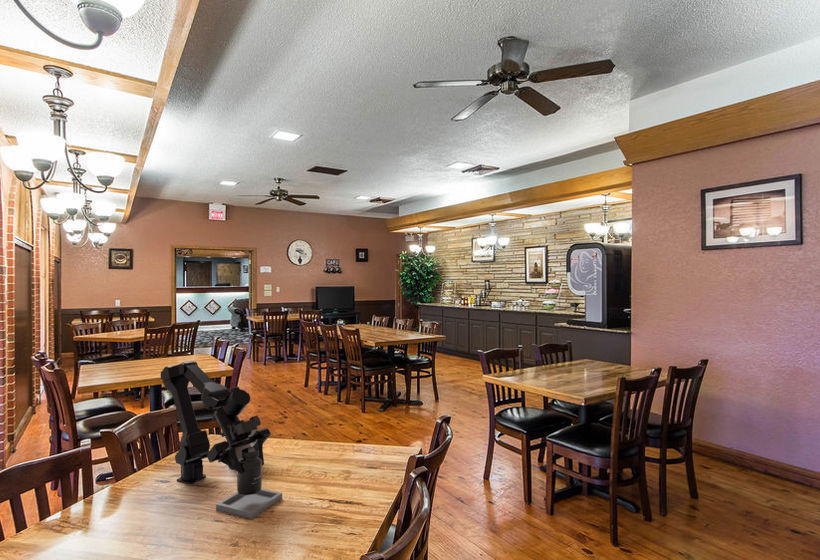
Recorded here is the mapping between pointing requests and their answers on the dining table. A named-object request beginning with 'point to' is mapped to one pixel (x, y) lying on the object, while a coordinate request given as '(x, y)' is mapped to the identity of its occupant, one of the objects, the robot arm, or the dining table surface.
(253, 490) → the supplement bottle
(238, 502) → the tray
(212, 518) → the dining table surface
